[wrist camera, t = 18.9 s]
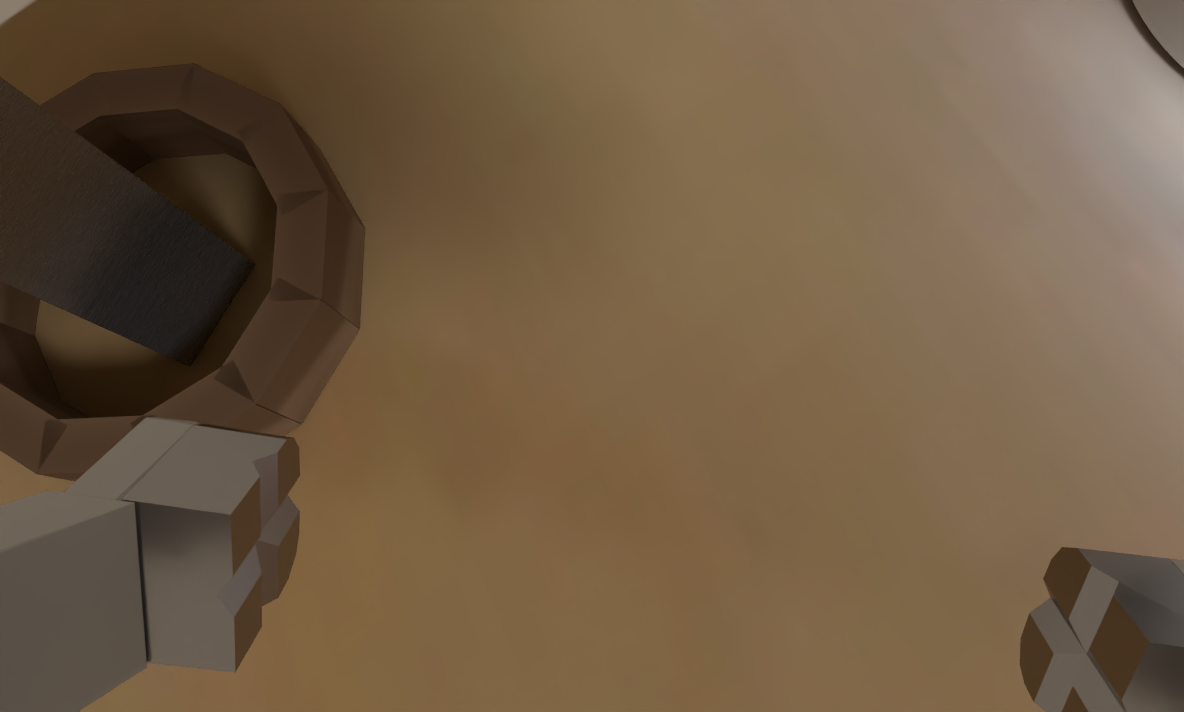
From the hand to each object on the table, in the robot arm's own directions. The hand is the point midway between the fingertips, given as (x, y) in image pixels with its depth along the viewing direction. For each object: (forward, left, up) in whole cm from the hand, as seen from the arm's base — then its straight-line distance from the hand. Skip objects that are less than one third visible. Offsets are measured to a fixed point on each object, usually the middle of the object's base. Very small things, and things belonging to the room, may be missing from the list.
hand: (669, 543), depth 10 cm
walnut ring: (0, -20, -17) cm, 26 cm away
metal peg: (0, -20, -17) cm, 26 cm away
